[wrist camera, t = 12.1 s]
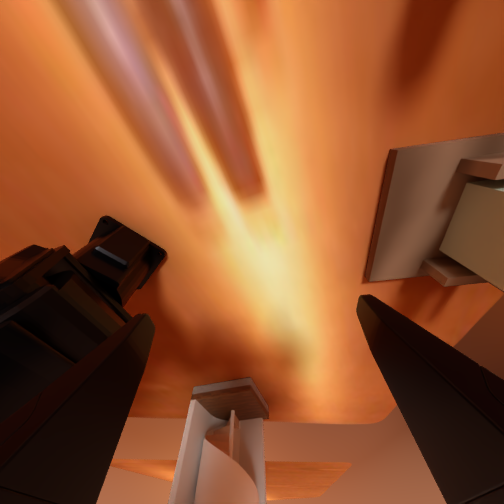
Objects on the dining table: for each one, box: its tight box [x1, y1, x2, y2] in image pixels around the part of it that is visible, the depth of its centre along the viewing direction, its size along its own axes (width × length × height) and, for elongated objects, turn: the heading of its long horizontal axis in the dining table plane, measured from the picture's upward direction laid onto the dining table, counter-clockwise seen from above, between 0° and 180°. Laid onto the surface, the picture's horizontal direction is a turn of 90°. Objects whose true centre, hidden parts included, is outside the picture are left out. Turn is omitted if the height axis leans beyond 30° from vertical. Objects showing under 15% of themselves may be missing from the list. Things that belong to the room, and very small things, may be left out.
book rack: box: [365, 133, 504, 292], centre depth 16 cm, size 12×13×8 cm
